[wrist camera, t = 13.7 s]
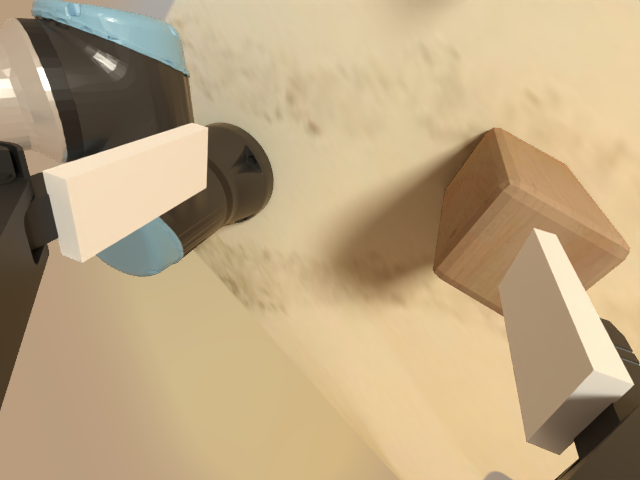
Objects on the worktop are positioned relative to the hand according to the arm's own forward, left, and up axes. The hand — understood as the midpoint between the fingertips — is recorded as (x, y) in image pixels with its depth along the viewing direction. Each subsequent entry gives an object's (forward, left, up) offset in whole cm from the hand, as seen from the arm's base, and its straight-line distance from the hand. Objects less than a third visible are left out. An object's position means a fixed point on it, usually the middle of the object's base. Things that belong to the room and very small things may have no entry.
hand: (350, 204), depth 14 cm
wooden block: (+12, -6, -34) cm, 36 cm away
